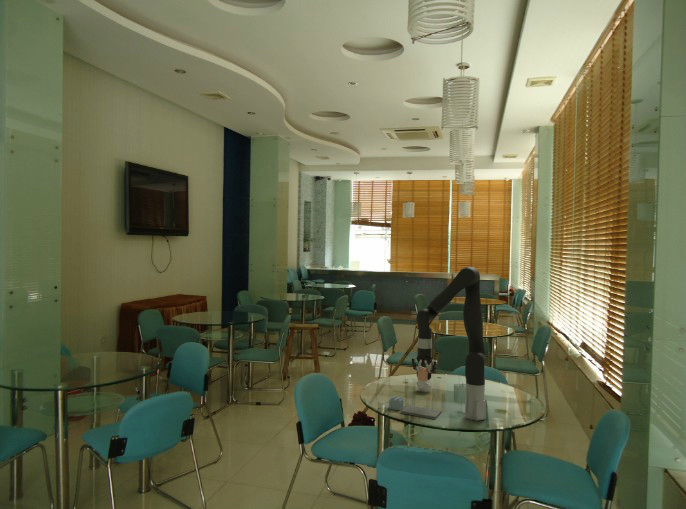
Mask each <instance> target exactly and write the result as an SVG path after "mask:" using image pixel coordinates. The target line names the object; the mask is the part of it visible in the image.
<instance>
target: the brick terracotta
mask: <svg viewBox="0 0 686 509" xmlns="http://www.w3.org/2000/svg"><path fill="white" fill-rule="evenodd" d="M418 380H419V381H426V382H427V381H428V369H427V367H426V368H425V367H424V366H422V367H421V369H419V370H418V377H417V381H418Z"/></svg>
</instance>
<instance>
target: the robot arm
mask: <svg viewBox="0 0 686 509" xmlns="http://www.w3.org/2000/svg"><path fill="white" fill-rule="evenodd" d="M480 289H481V275H480V271H479V270H478V269H477V268H476V267H473V266H466V267H462V268H461V269H460V270H459V272H458V273H457V274H456V275H455V277H454V278H453V279H452V281H451V282H450V283H449V284H448V285H447V286H446V287H445V288H444V289H443V290H441V292H439V293H438V294H437V295H436V296H435V297H434V298H432V299H431V301H430V303H429V304H428V305H427V306H426V307H425V308H422V309H420V310H419V311H417V313H416V323H417V329H418V331H417V332H418V337H417V351H416V352H417V354H416V355H417V356H416V357H412V358H411V365H412V369H413V370H415V371H416V377H417V378H418V370H419V369H421V368H422V367H426V368H427V369H428V380H430V381H431V379H432V373H434V372H436V368H437V366H438V360H435V359H433V357H432V356H433V331H432V327H430V322H431V321H432V320H434V319H435V318H436V317H437V316H438V315H439V313H440V312H441V311H443V309H445V308H446V307H447V306H448V305H449V304H450V303H451V302H452V301H453V300H454V298H455V297H456V296H457V295H458V293H459V294H460V292H461V291H462V290H465V293H464V294H465V296H464V303H463V309H462V310H463V312H462V314H463V315H462V316H463V326H464V330H465V333H466V336H467V337H466V338H467V340H468V354H467V355H466V357H465V366H464V368H465V370H464V371H465V372H464V375H465V397H464V398H465V399H464V400H465V402H464V405H465V406H464V418H466V419H467V420H472V421H475V422H477V421H482V420H486V413H487V412H486V411H487V410H486V408H487V401H486V399H485V390H486V388H485V387H486V379H485V365H486V364H487V355H486V350H485V349H486V348H485V343H484V321H483V312H482V302H481V300H482V299H481V291H480ZM417 362H418V364H417ZM431 363H432V366H431Z"/></svg>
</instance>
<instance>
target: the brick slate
mask: <svg viewBox="0 0 686 509" xmlns="http://www.w3.org/2000/svg"><path fill="white" fill-rule="evenodd" d="M388 400H389V402H388V409H389V410H396V411H401V410H403V409H404V398H403V397H402V396H398V397H397V395H393V396H391V397H390V398H389V399H388Z"/></svg>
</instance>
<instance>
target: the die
mask: <svg viewBox="0 0 686 509" xmlns="http://www.w3.org/2000/svg"><path fill="white" fill-rule="evenodd" d="M415 384H416V387H417V390H418V392H422V393H428V392H429V390H430V389H432V387H433V385H432V382H431V379H430V380H428V381H427V382H426V381H419V380H418V379H417V381H416V382H415Z"/></svg>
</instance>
